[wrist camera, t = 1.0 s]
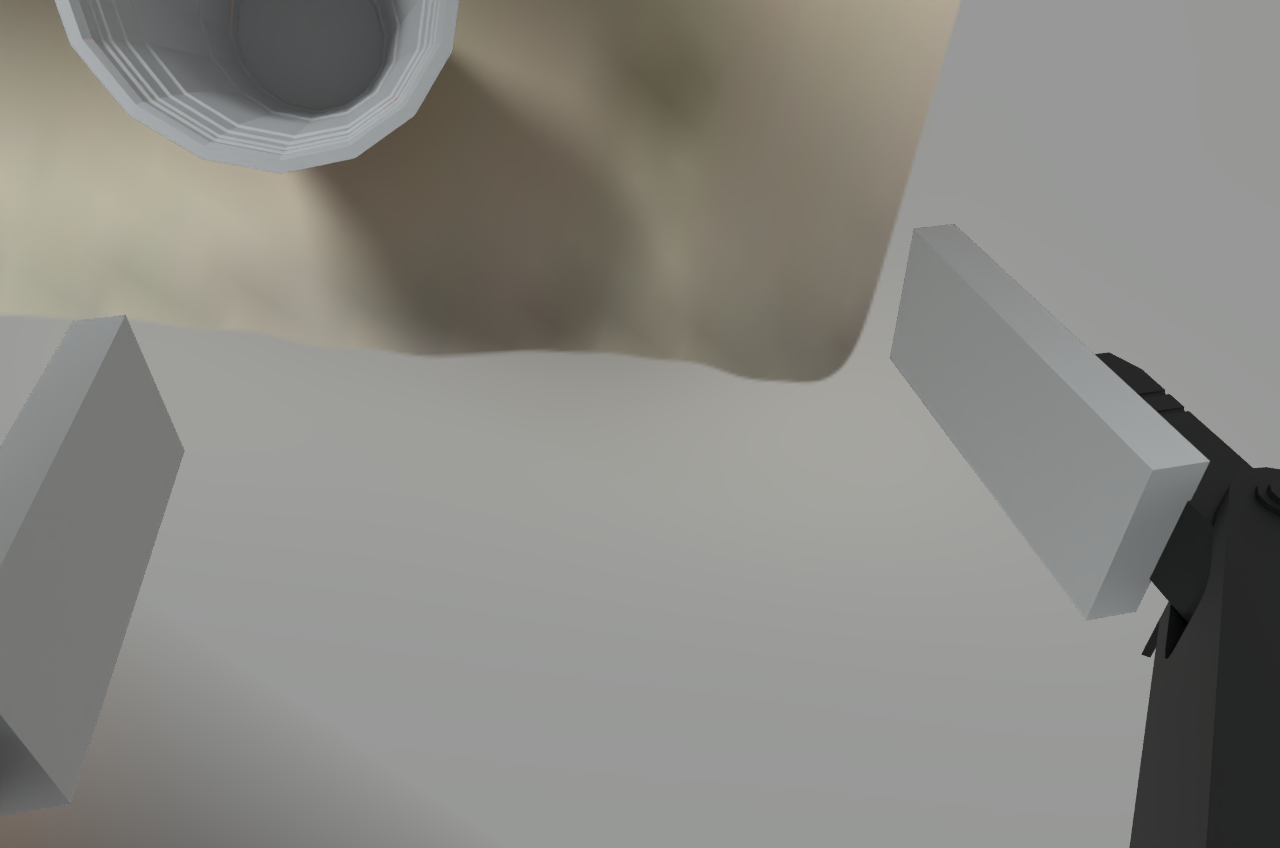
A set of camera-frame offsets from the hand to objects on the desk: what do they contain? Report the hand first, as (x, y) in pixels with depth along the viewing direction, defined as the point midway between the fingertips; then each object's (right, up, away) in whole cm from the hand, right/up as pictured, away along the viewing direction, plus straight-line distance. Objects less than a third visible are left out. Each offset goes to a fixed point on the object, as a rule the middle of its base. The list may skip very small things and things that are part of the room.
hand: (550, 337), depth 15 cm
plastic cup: (-12, +14, +20) cm, 27 cm away
